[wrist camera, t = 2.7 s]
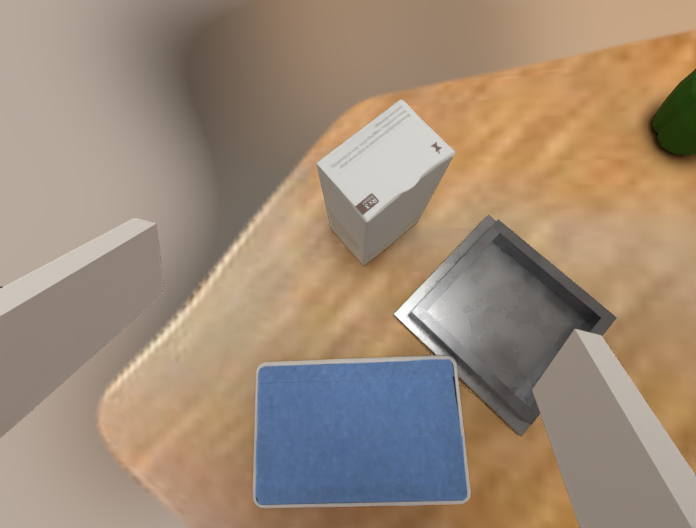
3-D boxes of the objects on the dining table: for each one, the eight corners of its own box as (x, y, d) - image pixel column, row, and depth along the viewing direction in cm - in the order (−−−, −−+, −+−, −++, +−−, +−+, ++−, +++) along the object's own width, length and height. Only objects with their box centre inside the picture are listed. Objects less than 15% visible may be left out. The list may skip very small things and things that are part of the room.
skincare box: (384, 186, 39) (403, 90, 25) (420, 225, 38) (462, 147, 23) (326, 230, 38) (311, 157, 23) (362, 272, 37) (368, 221, 22)
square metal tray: (485, 217, 38) (496, 206, 35) (608, 320, 35) (632, 317, 32) (393, 315, 35) (396, 311, 33) (517, 434, 33) (533, 442, 30)
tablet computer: (454, 354, 34) (457, 354, 32) (470, 500, 30) (474, 507, 29) (258, 361, 34) (254, 362, 33) (255, 504, 31) (250, 511, 30)
